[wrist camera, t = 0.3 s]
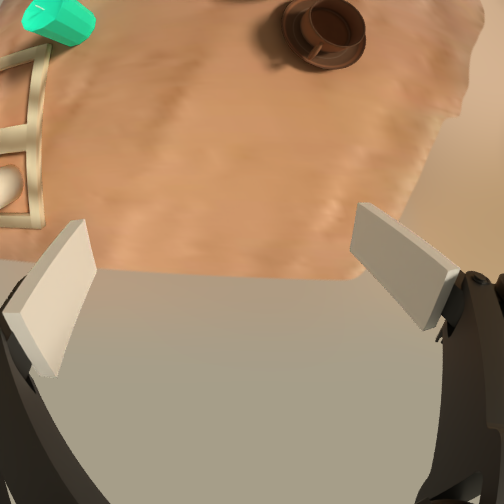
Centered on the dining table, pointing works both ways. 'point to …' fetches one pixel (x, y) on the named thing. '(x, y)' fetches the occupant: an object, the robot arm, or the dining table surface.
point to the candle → (59, 20)
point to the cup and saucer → (324, 32)
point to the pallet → (28, 136)
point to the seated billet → (10, 184)
